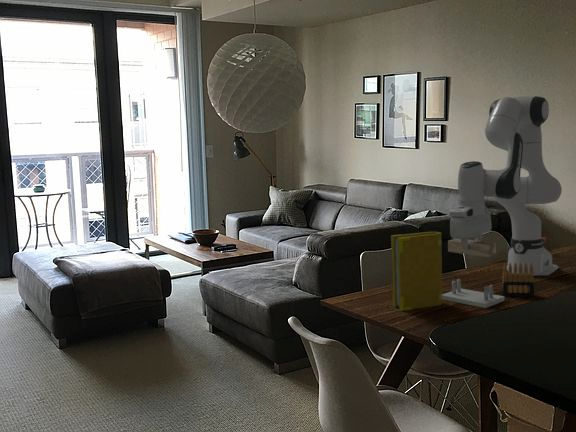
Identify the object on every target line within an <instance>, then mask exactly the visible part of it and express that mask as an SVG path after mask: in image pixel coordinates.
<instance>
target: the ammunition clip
mask: <svg viewBox="0 0 576 432" xmlns="http://www.w3.org/2000/svg"><path fill="white" fill-rule="evenodd" d="M507 266H508V265H507V263H506V262H504V263H503V266H502V267H503V268H502V269H503V271H502V290H501V296H505V297H535V286H534V285H535V281H534V280H535V279H534V274H533V265H532V263H531V264H530V268H529V276H528V267H527V263H525V266H524V274H523V273H522V264H521V263H520V264H519V273H517V265H516V263H515V264H514V271H513V274H512V265H511V263H509V268H508V270H507Z"/></svg>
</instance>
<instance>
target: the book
mask: <svg viewBox="0 0 576 432" xmlns="http://www.w3.org/2000/svg"><path fill="white" fill-rule="evenodd" d="M390 239H391V240H390V242H391V255H392V256H391V257H392V259H391V262H392V307H394V308H398V310H399V311H401V312H403V311H410V310H415V309H422V308H423V309H424V308H431V307H436V306H437V307H438V306H442V305H443V299H442V294H443V258H442V257H443V256H442V255H443V253H442V249H443V248H442V232H440V231H424V232H414V233H406V234H405V233H404V234H393V235H390Z"/></svg>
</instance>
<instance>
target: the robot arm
mask: <svg viewBox="0 0 576 432" xmlns="http://www.w3.org/2000/svg"><path fill="white" fill-rule="evenodd" d="M488 110H489V113H488V114H489V117H488V120H487V123H486V124H485V125H486V126H485V128H484V135H485V138H486V140H487V141H488V142H489V143H490V144H491V145H492V146H494V147H495V148H498V149H501V150H503V151H506V152H507V160H506V165H505V166H506V167H505V168H502V169H485V168H484V165H483V163H482V162H480V161H476V160H475V161H474V160H473V161H467V162H463V163H462V164H460V166H459V170H458V177H457V189H458V193H459V194H458V200H457V204H456V205H455V206H454V207H453V208H451V209H450V210H449V217H451V218H450V220H449V223H450V224H449V234H450V237H451V239H452V240H453V239H461V242H462V244H463V249H464V250H469V249H470V245H469V244H468V241H467V240H469V238H470V237H475V240H474V241H482V239H483V234H486V233H490V232H491V231H492V226H493V225H492V216H491V213H490V210H489V208H488V207H487V206H486V205H485V203H486V202H485V201H486V200H485V198H494V199H495V201H496V202H497V203H499V204H500V205H501V206H502V207H504V208H505V210H506V211H507V213H508V214H509V217H510V221H511V233H512V234H511V236H512V237H511V238H510V247H511V248H510V249H509V250H508V255H507V256H508V257H507V265H506V266H507V271H508V268H509V263H511V265H512V274H513V271H514V264H515V263H516V265H517V273H519V264H520V263H521V264H522V273H523V274H524V266H525V263H527V267H528V277H529V268H530V264H531V263H532V265H533V274H534V276H535V277H536V276H550V275H551V274H552V273H554V272H555V271H557V270H558V269H559V266H558V265H557V264H553V255H552V253H550V251H548V250H547V249H546V248H545V246H544V244H545V243H546V242H547V237H542V220H541V218H540V217H539V216H538V215H537V214H535V213H533V212H531V211H528V210H527V209H526V208H525V206H527V205H547V204H551V203H555V202H557V201H558V200H559V199H560V197H561V195H562V191H563V190H562V185H561V182H560V181H559V179H557V178H556V177H555V176H554V175H552V174H551V173H550V172H549V171H548V169H547V168H546V165H545V164H544V159H543V148H542V147H543V142H542V141H543V135H542V133H543V132H542V126H541V125H543V124H544V123H545V122H546V120H547V119H548V117H549V114H550V113H549V112H550V107H549V102H548V100H547V99H546V98H545V97H542V96H537V95H536V96H516V97H511V96H505V97H501V98H499V99H496V100H494V101H493V102H492V103H491V105H490V106H489V109H488ZM521 170H525V171H527V173H528V176H521Z"/></svg>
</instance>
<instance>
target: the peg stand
mask: <svg viewBox="0 0 576 432" xmlns="http://www.w3.org/2000/svg"><path fill="white" fill-rule="evenodd" d="M505 297H506V296H503V295H499V294H494V284H489V285H488V286H483V291H477V290H476V291H475V290H472V289H466V288H462V279H460V278H459V279H456V280H452V281H451V291H449V292H446V293H442V301H449V302H452V303H458V304H463V305H468V306H472V307H477V308H482V309H487V308H489V307H492V306H495V305H497V304H499V303H502V302H505Z"/></svg>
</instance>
